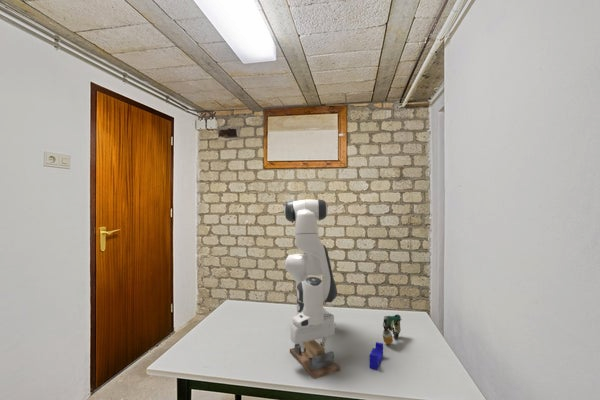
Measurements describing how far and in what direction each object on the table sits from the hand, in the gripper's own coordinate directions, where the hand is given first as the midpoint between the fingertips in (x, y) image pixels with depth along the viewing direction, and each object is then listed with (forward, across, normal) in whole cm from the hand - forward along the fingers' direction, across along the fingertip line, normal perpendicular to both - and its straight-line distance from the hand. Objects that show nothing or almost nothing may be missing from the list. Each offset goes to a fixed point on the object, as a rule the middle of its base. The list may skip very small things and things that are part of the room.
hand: (313, 348), depth 128 cm
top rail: (+4, 0, 0) cm, 4 cm away
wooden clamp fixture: (+5, 0, 0) cm, 5 cm away
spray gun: (+6, -43, +2) cm, 43 cm away
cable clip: (+6, -23, +12) cm, 27 cm away
